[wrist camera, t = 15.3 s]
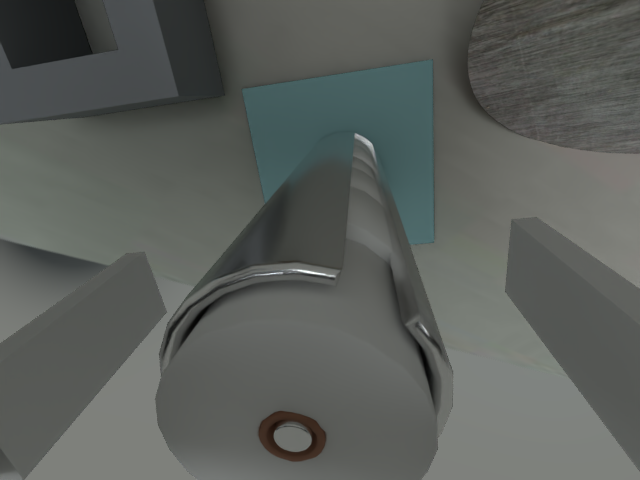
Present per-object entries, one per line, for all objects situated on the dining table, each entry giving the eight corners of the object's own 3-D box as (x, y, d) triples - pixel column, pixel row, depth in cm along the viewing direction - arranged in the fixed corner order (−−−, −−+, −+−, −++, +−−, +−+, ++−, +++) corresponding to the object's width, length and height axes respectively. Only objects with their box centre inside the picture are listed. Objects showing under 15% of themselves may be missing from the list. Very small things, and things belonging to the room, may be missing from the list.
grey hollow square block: (10, -74, 25) (-131, -141, 18) (177, -116, 23) (95, -212, 16) (82, 117, 30) (-5, 124, 23) (224, 95, 28) (178, 96, 21)
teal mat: (243, 89, 28) (241, 88, 28) (431, 60, 26) (432, 59, 25) (276, 252, 34) (275, 255, 33) (432, 240, 32) (433, 242, 31)
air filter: (394, 185, 29) (521, 503, 7) (329, 218, 31) (250, 559, 8) (359, 115, 27) (367, 223, 5) (292, 155, 29) (58, 373, 6)
